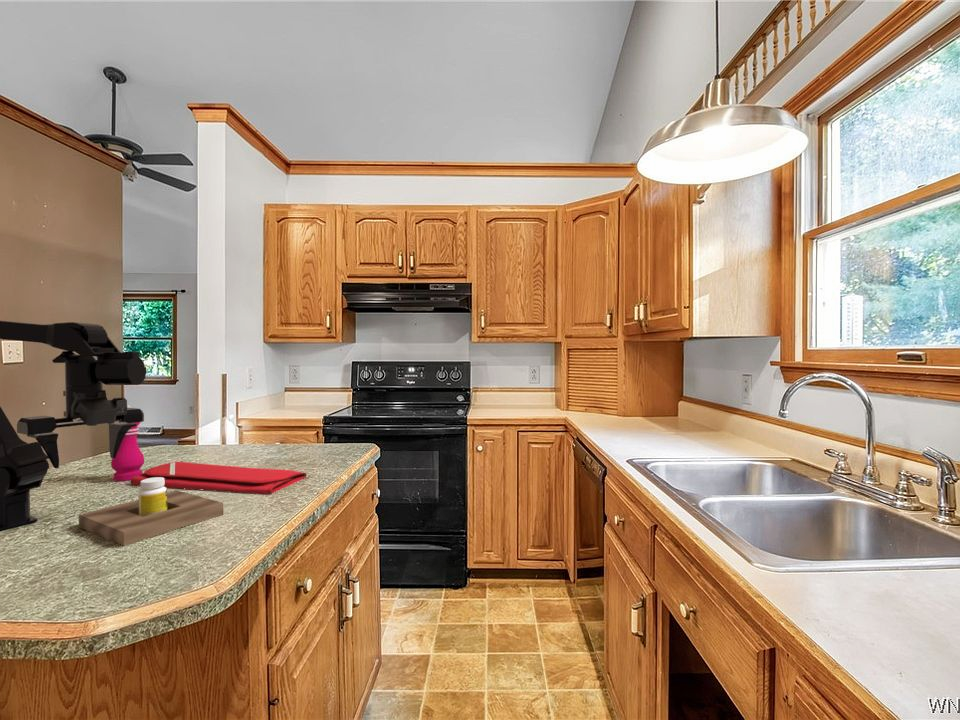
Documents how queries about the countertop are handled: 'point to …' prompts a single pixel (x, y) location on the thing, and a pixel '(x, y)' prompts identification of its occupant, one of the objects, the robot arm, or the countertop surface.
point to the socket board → (149, 518)
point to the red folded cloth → (221, 477)
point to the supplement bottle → (152, 496)
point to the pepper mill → (128, 456)
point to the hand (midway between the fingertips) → (85, 462)
